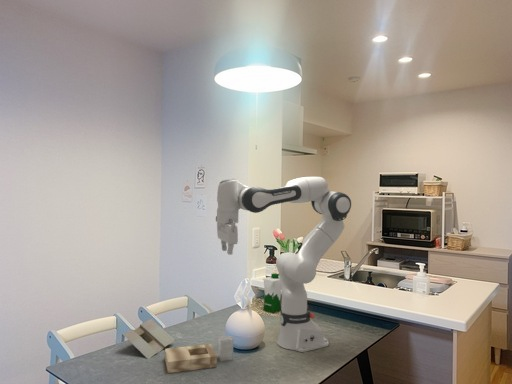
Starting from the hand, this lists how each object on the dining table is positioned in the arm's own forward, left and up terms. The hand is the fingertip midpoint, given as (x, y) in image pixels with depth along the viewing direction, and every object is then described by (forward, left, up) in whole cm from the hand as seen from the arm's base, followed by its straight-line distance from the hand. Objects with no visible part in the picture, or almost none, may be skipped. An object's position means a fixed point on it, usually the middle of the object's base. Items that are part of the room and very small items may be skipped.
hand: (227, 252), depth 155 cm
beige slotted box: (+29, -13, -42) cm, 53 cm away
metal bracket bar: (+1, +5, -41) cm, 42 cm away
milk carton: (-38, -46, -42) cm, 73 cm away
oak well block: (+15, +5, -41) cm, 44 cm away
